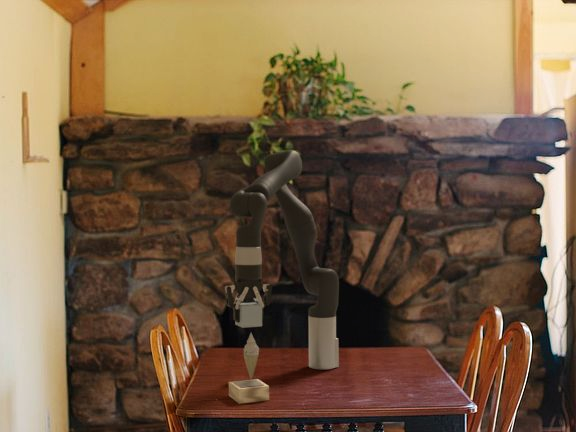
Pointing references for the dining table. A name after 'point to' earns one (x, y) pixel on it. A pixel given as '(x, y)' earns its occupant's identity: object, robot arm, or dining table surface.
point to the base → (248, 391)
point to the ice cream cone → (251, 355)
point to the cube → (250, 315)
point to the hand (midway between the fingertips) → (248, 321)
